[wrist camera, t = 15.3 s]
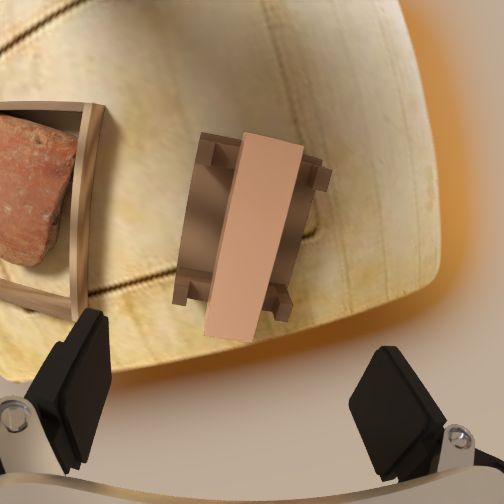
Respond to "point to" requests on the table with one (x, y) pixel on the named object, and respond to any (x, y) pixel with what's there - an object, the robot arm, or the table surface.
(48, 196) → the ceramic shard
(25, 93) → the table surface
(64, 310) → the low wooden frame
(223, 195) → the rack
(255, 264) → the tan pink long block
